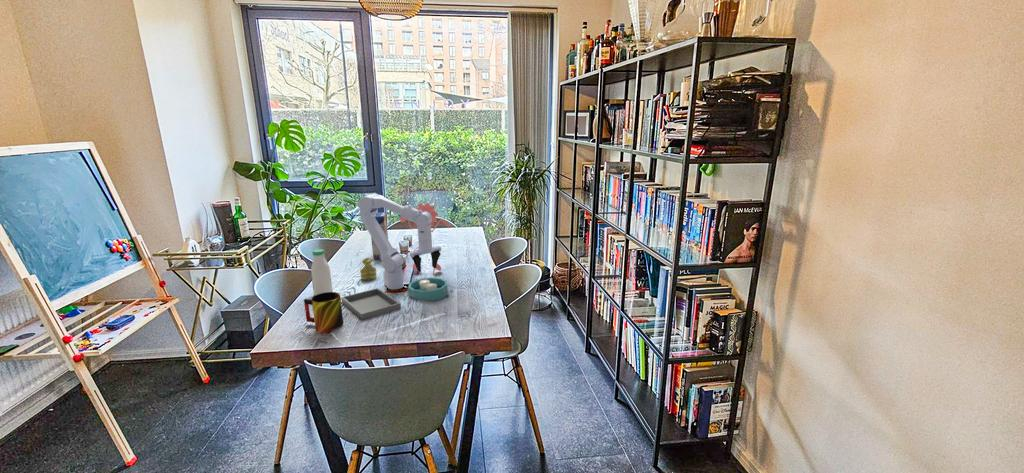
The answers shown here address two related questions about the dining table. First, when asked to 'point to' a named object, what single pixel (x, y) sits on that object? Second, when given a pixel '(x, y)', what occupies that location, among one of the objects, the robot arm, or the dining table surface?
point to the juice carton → (383, 224)
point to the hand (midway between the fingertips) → (426, 269)
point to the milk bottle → (320, 273)
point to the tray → (370, 303)
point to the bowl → (428, 294)
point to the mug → (325, 311)
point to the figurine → (434, 214)
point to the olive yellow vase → (368, 270)
